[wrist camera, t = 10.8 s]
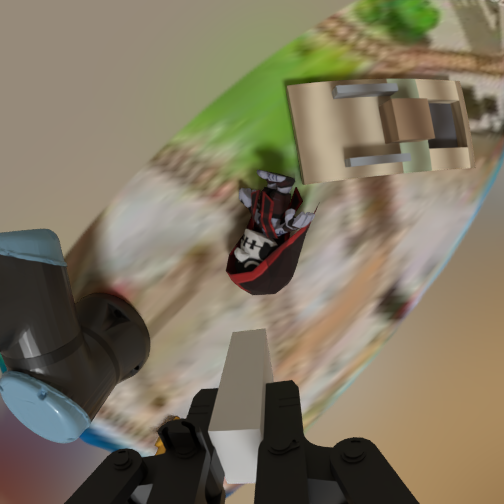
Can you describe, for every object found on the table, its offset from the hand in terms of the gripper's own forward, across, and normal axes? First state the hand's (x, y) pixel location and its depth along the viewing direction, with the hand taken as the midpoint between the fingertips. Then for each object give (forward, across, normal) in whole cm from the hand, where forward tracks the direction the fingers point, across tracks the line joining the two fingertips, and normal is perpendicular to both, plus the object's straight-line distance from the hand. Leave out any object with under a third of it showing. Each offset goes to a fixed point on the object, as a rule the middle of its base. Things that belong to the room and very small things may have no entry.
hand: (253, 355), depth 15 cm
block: (+27, +20, +13) cm, 36 cm away
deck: (+30, +19, +13) cm, 38 cm away
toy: (+31, +1, +1) cm, 31 cm away
